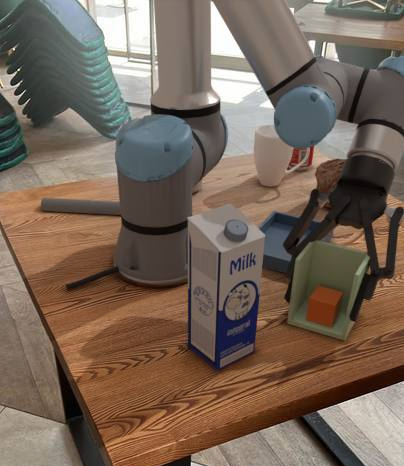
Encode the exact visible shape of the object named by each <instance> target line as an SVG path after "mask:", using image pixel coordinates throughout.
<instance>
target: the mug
mask: <svg viewBox="0 0 404 466" xmlns="http://www.w3.org/2000/svg"><path fill="white" fill-rule="evenodd" d="M293 149H294V147H291V146H289V145H287V144H286V143H284V142H283V141H282V140H281V139H280V138H279V136H278V134H277V132H276V130H275V126H274V124H267V125H262V126H259V127H257V128H256V129H255V130H254V140H253V162H254V165H255V169H256V172H257V176H258V180H259V184H261V186H264V187H268V188H269V187H270V188H273V187H277V186H279V185H280V183H281V181H282V179H283V178H284V176H288V175H289V174H291V173H293V172H294V171H297V170H296V169H297V168H298V167H300V166H301V165H302V164H303V163H304V162H305V161H306V160H307V158H308V156H309V152H310V148H307V153H306V156H305V158H304V159H303V160H302V161H301V162H300V163H299V164H298V165H296V166H295V167H294V168H292V169H289V170H287V169H288V168H289V167H288V165H289V162H290V160H291V157H292V153H293Z"/></svg>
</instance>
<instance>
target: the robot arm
mask: <svg viewBox="0 0 404 466" xmlns="http://www.w3.org/2000/svg"><path fill="white" fill-rule="evenodd" d="M212 3H213V4H214V7H215V8H216V10H217V12H218V13H219V15H220V18H221V19H222V20H223V22H224V24H225V25H226V27H227V29H228V30H229V32H230V34H231V36H232V38H233V39H234V41H235V43H236V45H237V46H238V48H239V50H240V51H241V53H242V55H243V56H244V58H245V60H246V62H247V64H248V65H249V67H250V68H251V70H252V73H253V74H254V75H255V78H256V79H257V81H258V82H259V85H260V86H261V88H262V89H263V91H264V93H265V94H266V96H267V99H268V100H269V102H270V104H271V106H272V107H273V109H274V113H273V125H274V126H275V130H276V132H277V134H278V136H279V138H280V139H281V140H282V141H283V142H284V143H286V144H287V145H289V146H291V147H294V148H299V149H305V148H310V147H312V146H314V147H315V146H317V145H318V144H320V143H321V142H322V141H323V140H324V139H325V138H326V137H327V136H328V135H329V134H330V133H332V130H333V129H334V128H335V124H336V122H337V120H338V121H341V122H346V123H349V124H355V125H357V126H356V129H355V132H354V134H353V137H352V140H351V142H350V145H349V148H348V151H347V154H346V158H345V159H346V160H345V162H344V165H343V167H342V170H341V173H340V176H339V179H338V182H337V185H336V187H335V188H334V189H333V190H332V191H331V192H330V193H322V192H319V190H318V189H316V188H313V189H312V190H311V191H310V193H309V194H310V195H309V199H308V203H307V204H306V206H305V208H304V209H303V211H302V213H301V214H300V216H299V219H298V220H297V222H296V224H295V225H294V227H293V228H292V230H291V232H290V233H289V235H288V236H287V238H286V240H285V241H284V243H283V246H284V248H285V250H286V252H287V253H289V254H290V255H292V258H291V260H290V263H289V266H288V269H287V272H286V273H285V275H286V277H287V279H289V283H288V286H287V288H286V290H285V294H284V296H283V299H284V300H285V301H286V303H288V304H290V297H291V290H292V282H293V275H294V268H295V260H296V258H297V257H298V256H299V254H300V253H301V252H302V251H303V250H304V248H305V247H306V246H307V245H308V243H309V242H313V241H315V240H319V241H321V240H322V239H323V238H324V237H325V236H326V235H327V234H328V233H329V232H330V231H331V230H332V229H334V230H335V229H336V228H337V227H338V226H343V227H351V228H353V229H355V230H362V229H363V235H364V239H365V246H366V252H368V256H369V257H370V259H369V265H370V266H369V270H370V273H368V274H367V273H364V276H363V279H362V282H361V284H360V287H359V290H358V293H357V296H356V299H355V302H354V304H353V307H352V310H351V313H350V316H349V317H350V320H351V321H354V322H355V323H356V322H357V320H358V317H359V314H360V311H361V308H362V305H363V303H364V300H366V301H369V302H370V301H371V300H372V299H373V297H374V294H375V291H376V288H377V286H378V283H379V281H381V280H383V279H387V280H392V279H393V278H394V277H395V271H396V270H395V269H396V261H397V248H398V240H399V239H398V237H399V229H400V227H401V225H402V223H403V222H404V221H403V220H404V207H403V206H397V207H394V206H390V205H388V204H387V203H388V202H387V200H388V197H389V196H388V195H389V193H390V190H391V188H392V185H393V183H394V179H395V176H396V173H395V172H396V171H397V170H398V168H399V165H400V162H401V159H402V156H403V153H404V55H399V56H398V57H396V56H389V57H386V58H385V59H383V60H382V61H381V62H380V63H379V64H378V66H377V68H376V69H372V68H365V67H361V66H357V65H354V64H351V63H346V62H342V61H338V60H335V59H331V58H327V57H324V56H323V55H319V54H318V55H315V52H314V51H313V49H312V47H311V46H310V44H309V42H308V39H307V38H306V36H305V34H304V32H303V30H302V28H301V26H300V25H299V22H298V21H297V19H296V17H295V15H294V13H293V11H292V9H291V7H290V6H289V4H288V2H287V0H153V7H154V8H153V9H154V24H155V25H154V27H155V28H154V29H155V41H156V42H155V44H156V62H157V77H158V78H157V80H158V87H157V89H156V90H155V92H154V93H153V94H152V95H151V97H150V100H149V101H150V102H149V103H150V114H148V115H144V116H143V117H141V118H140V117H136V118H133V119H131V120H129V121H127V122H126V123H124V124H123V125H122V126H121V127H120V129H119V130H118V132H117V134H116V136H115V152H114V160H115V161H114V162H115V165H116V176H117V187H118V199H119V202H120V212H121V215H120V223H121V225H120V230H119V233H118V236H117V241H116V244H115V248H114V251H113V267H110V268H108V269H105V270H102V271H99V272H97V273H94V274H92V275H89V276H87V277H84V278H81V279H79V280H75V281H73V282H69V283H66V284H65V288H66V290H68V291H69V290H72V289H76V288H79V287H83V286H85V285H87V284H90V283H92V282H95V281H97V280H100V279H103V278H106V277H108V276H111V275H114V274H116V275H117V276H118V277H119V278H120V279H121V280H123V281H125V282H127V283H129V284H131V285H134V286H137V287H143V288H151V289H163V288H165V289H166V288H172V287H177V286H181V285H183V284H186V283H188V219H187V217H190V216H193V193H192V191H193V188H194V187H195V186H196V185H197V184H198V183H199V182H200V181H201V180H202V181H203V179H204V178H205V177H206V176H207V175H208V174H209V173H210V172H212V171H213V169H214V168H215V167H216V166H217V165H218V164H219V163H220V161H221V159H222V158H223V157H224V153H225V152H226V149H227V146H228V142H229V141H228V140H229V128H228V124H227V121H226V119H225V116H224V115H223V114H222V113H221V95H220V93H218V92H217V90H215V89H214V88H213V86H212ZM326 202H330V205H331V207H330V208H331V209H330V211H328V212H327V213H326V215H325V217H324V218H323V219H322V220H321V222H320V223H319V224H318V225H317V226H316V227H315V228H314V229H313V230H312V231H311V232H310V233H309V234H308V235H307V236H306V237H305V238H304V239H303V240H302V241H301V242H300V243H299V241H300V240H301V238H302V237H303V235H304V234H305V232H306V230H307V229H308V227H309V226H310V224H311V222H312V221H313V220H315V218H316V216H317V214H318V212H319V209H322V208H324V207H325V205H324V204H325V203H326ZM384 215H385V216H386V223H388V235H387V246H386V255H385V256H386V257H385V264H384V265H385V266H384V267H380V264H379V258H378V253H377V247H376V240H375V234H374V226H373V223H375V222H376V221H377V220H378V219H380V218H381V217H382V216H384ZM298 243H299V244H298ZM297 245H298V246H297ZM296 246H297V247H296Z"/></svg>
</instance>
